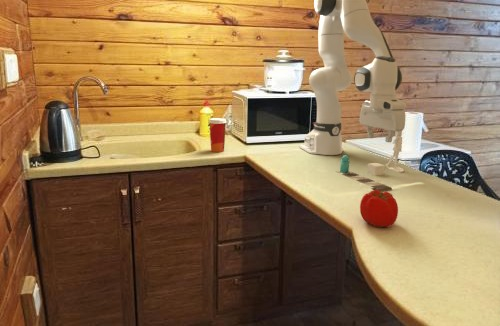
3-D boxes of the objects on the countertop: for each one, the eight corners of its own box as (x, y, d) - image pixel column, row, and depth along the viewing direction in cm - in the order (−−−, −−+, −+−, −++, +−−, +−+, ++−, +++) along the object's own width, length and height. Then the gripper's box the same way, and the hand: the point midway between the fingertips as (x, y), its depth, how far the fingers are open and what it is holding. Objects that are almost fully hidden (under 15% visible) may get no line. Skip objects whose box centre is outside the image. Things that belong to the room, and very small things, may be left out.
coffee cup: (216, 148, 198) (216, 117, 194) (229, 150, 193) (230, 119, 190) (204, 151, 191) (204, 119, 188) (218, 153, 187) (218, 121, 183)
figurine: (405, 173, 159) (410, 127, 155) (384, 172, 161) (388, 126, 156) (402, 168, 167) (407, 124, 162) (381, 167, 168) (386, 123, 164)
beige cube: (366, 174, 157) (367, 163, 156) (375, 173, 159) (376, 162, 158) (374, 177, 153) (375, 166, 152) (383, 176, 155) (384, 165, 154)
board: (334, 173, 158) (334, 171, 157) (347, 171, 160) (347, 170, 160) (378, 191, 137) (378, 189, 136) (391, 189, 139) (392, 187, 139)
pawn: (338, 171, 158) (339, 154, 156) (345, 170, 159) (346, 154, 157) (343, 173, 155) (344, 156, 153) (350, 172, 156) (351, 155, 155)
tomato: (376, 234, 104) (379, 202, 101) (349, 219, 113) (351, 189, 111) (408, 228, 108) (411, 197, 105) (379, 214, 117) (382, 185, 115)
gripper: (356, 100, 157) (354, 136, 160) (396, 105, 139) (392, 145, 142) (369, 99, 159) (367, 134, 163) (409, 104, 141) (406, 143, 145)
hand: (379, 139), depth 152 cm, fingers open, 8 cm apart
